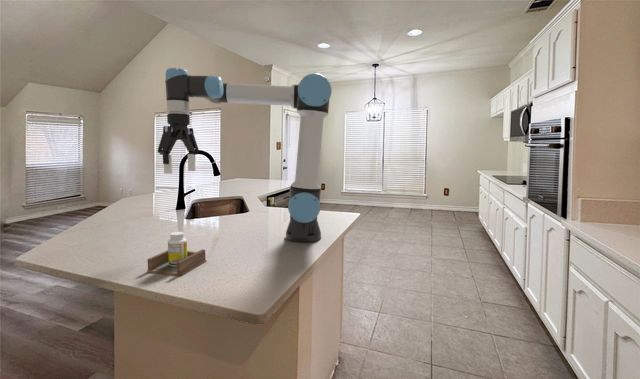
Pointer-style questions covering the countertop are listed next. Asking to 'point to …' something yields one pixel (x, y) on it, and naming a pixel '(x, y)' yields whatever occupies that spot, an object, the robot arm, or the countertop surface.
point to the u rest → (183, 266)
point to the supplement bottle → (176, 248)
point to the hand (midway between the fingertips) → (180, 172)
